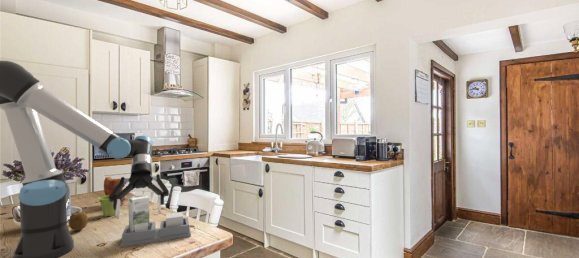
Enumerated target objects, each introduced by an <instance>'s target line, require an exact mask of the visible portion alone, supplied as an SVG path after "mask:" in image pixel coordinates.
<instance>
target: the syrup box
mask: <svg viewBox="0 0 579 258" xmlns="http://www.w3.org/2000/svg"><path fill="white" fill-rule="evenodd" d="M128 225H129V233H130V232H137V231H144V230H150V197H149V196H148V195H147V194H141V195H133V196H129V197H128Z"/></svg>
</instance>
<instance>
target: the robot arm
mask: <svg viewBox="0 0 579 258" xmlns="http://www.w3.org/2000/svg"><path fill="white" fill-rule="evenodd" d="M0 109H1V110H2V111H4V113H5V116H6V120H7V122H8V126H9V127H10V132H11V135H12V138H13V140H14V143H15V148H16V149H17V150H16V151H17V153H18V155H19V159H20V162H21V165H22V168H23V171H24V174H25V177H24V179H23V180H22V181H21V184H22V187H21V188H20V189H19V194H18V199H19V214H20V216H19V217H20V218H19V219H20V220H19V221H20V236H19V240H18V242H17V244H16V247H15V249H14V252H13V258H59V257H62V256H63V255H66V254H67V253H69V252H72V250H74V247H75V246H74V245H75V242H74V241H75V240H74V238H73V236H72V233H71V232H70V230H69V228H68V222H67V214H66V203H67V201H68V199H69V196H70V197H71V189H69V188H70V187H69V185H68V183H66V178H65V176H64V173H63V171H62V170H60V169H57V168H56V164H55V161H54V158H53V155H52V152H51V148H50V145H49V142H48V139H47V136H46V135H47V134H46V132H45V129H44V126H43V123H42V120H41V117H40V114H41V115H42V116H44V117H45V118H47V119H48V120H50V121H52V122H53V123H56V125H58V126H60V127H62V128H64V129H65V130H67V131H69V132H70V133H72V134H74V135H76V136H77V137H79V138H81V139H82V140H84V141H86V142H87V143H89V144H91V145H92V146H94V147H96V148H97V149H98V153H99V154H100V155H105V156H110V157H112V158H114V159H115V160H117V159H118V160H120V159H123V158H131V164H130V166H131V168H130V177H129V178H128V177H127V178H126V177H124V176H121V177H120V179H121V180H120V182H119V184H118V185H117V186H116V188H115V189H114V190H113V192H112V193H111V194H110V195H109V197H108V198H109V201H110V202H114V204H113V208H114V210H116V214H115V215H114V216H115V218H116V220H120V212H121V206H122V205H121V202H120V200H121V199H122V198H123V197H124V198H125V197H126V196H127V195H128V194H129V193H130V192H131V191H133V190H134V189H145V188H147V189H149V190H151V191H152V192H153V193H155V194H156V195H157V196H158V198H157V200H158V201H157V204H158V205H157V212H158V215H159V214H160V215H161V214H162V213H161V211H162V209H161V208H162V205H163V206H164V204H165V197H169V195H170V191H169V189H168V188H167V186H166V185H165V183H164V182H163V181H162V179H161V175H160V174H159V173H158V174H156V175H154V176H153V175H152V171H153V149H154V148H153V140H152V139H151V137H149V136H147V135H138V136H136V137H134V139H130V138H123V137H122V136H120V134H117V133H115V132H114V131H112V130H110V129H109V128H108V127H106V126H105V125H103V124H102V123H100V122H98V121H97V120H96V119H94V118H92V117H91V116H89V115H88V114H86V113H85V112H83V111H82V110H79V109H78V108H77V107H75V106H74V105H72V104H70V103H69V102H68V101H65V100H64V99H63V98H61V97H59V96H58V95H56V94H55V93H54V92H51V91H50V90H49V89H47V88H46V87H45V86H43V82H42V81H40V80H39V79H37V78H36V77H34V75H33V74H32V73H31V72H29V71H28V70H27V69H26V68H24V67H23V66H22V65H20V64H19V63H17V62H14V61H11V60H10V61H9V60H0ZM152 181H154V182H155V183H157V185H158V186H159V187H157V186H156V185H155V184H154V183H153V182H152ZM127 183H128V185H127ZM124 185H127V186H124ZM122 188H123V190H122ZM121 190H122V191H121ZM120 191H121V192H120ZM119 192H120V193H119ZM120 205H121V206H120Z"/></svg>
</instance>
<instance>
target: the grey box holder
mask: <svg viewBox="0 0 579 258" xmlns="http://www.w3.org/2000/svg"><path fill="white" fill-rule="evenodd" d="M149 222H150V221H149ZM188 237H192V232H191V227H190V222H189V218H188V217H184V212H183V211H180V212H173V213H166V214H165V220H160V227H159V228H156V221H151V222H150V230H144V231H137V232H130V233H129V224H127V225H125V228H124V229H123V232H122V235H121V241H120V245H119V246H120V248H125V247H131V246H138V245H144V244H150V243H151V244H152V243H156V242H157V243H158V242H164V241H170V240H176V239H182V238H188Z"/></svg>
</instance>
